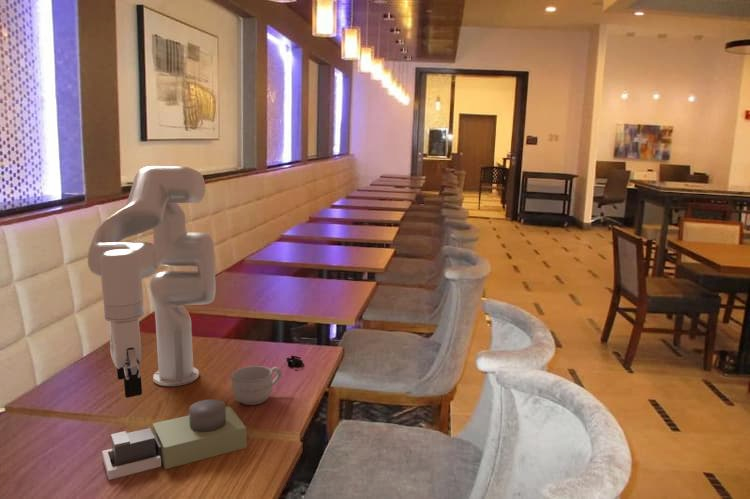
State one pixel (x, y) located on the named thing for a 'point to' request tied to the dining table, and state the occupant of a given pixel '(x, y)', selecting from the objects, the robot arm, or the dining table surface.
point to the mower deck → (188, 439)
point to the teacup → (254, 383)
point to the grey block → (132, 446)
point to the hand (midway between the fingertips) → (129, 386)
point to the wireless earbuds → (294, 361)
